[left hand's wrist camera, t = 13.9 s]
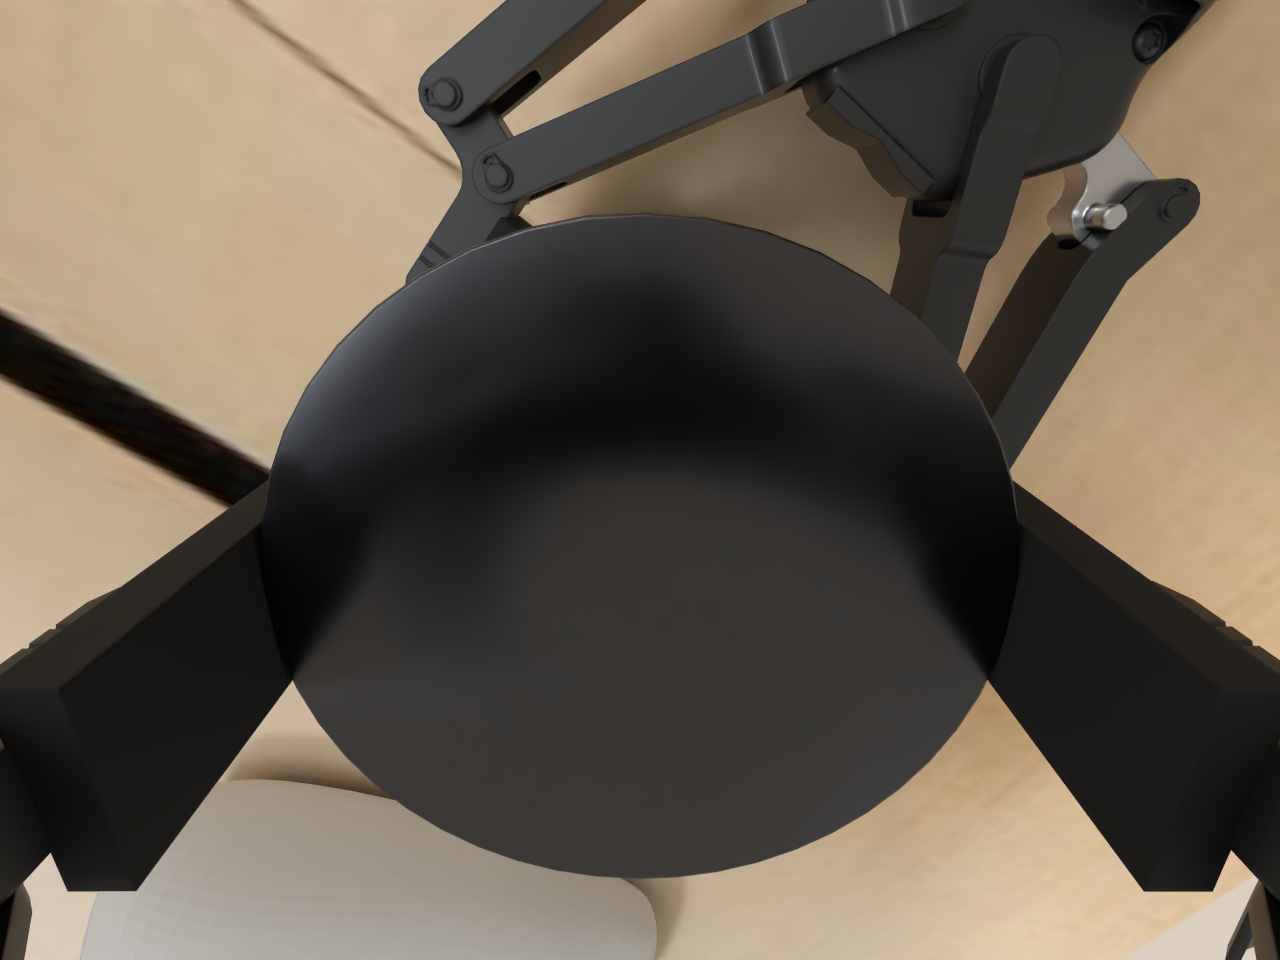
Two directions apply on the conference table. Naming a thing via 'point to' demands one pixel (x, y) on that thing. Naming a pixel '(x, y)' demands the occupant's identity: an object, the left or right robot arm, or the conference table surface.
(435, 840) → the projector
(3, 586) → the conference table surface
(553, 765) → the lid
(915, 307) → the right robot arm
